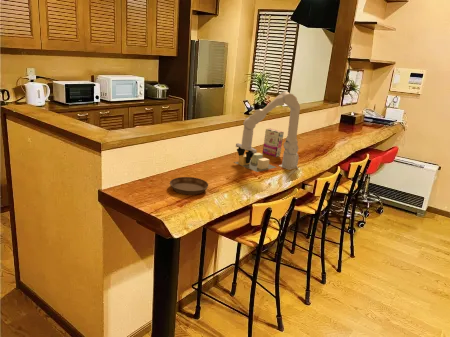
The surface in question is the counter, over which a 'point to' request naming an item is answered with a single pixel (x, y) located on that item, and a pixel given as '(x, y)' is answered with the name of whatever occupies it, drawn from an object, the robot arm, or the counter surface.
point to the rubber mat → (255, 166)
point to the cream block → (263, 163)
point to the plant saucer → (188, 185)
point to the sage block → (256, 157)
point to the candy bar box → (273, 142)
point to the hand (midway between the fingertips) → (244, 161)
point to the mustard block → (242, 160)
